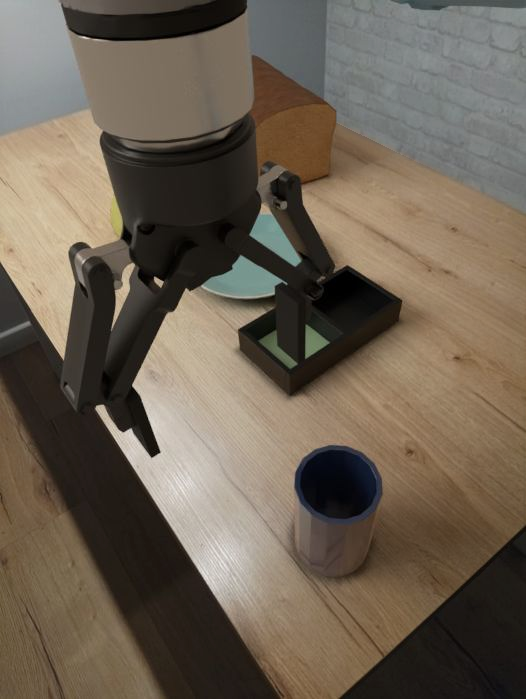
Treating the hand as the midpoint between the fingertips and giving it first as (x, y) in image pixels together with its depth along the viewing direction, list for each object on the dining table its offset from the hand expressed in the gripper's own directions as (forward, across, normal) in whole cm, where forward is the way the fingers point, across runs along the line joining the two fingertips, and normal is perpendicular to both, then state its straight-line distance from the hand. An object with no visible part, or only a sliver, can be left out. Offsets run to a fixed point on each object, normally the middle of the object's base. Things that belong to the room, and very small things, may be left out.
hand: (223, 395), depth 40 cm
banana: (+20, -22, -58) cm, 66 cm away
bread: (+20, -50, -62) cm, 82 cm away
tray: (+20, -24, -14) cm, 35 cm away
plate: (+20, -27, -34) cm, 47 cm away
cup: (+21, -5, +8) cm, 23 cm away
